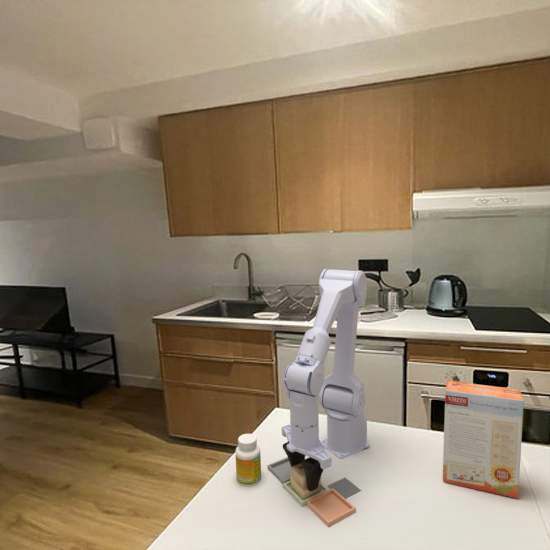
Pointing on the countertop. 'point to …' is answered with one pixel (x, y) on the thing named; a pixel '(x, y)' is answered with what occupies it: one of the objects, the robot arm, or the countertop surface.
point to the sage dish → (302, 502)
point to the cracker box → (483, 437)
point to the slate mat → (344, 488)
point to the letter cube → (301, 482)
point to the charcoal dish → (281, 470)
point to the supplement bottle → (248, 461)
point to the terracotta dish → (331, 507)
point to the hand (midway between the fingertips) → (305, 481)
